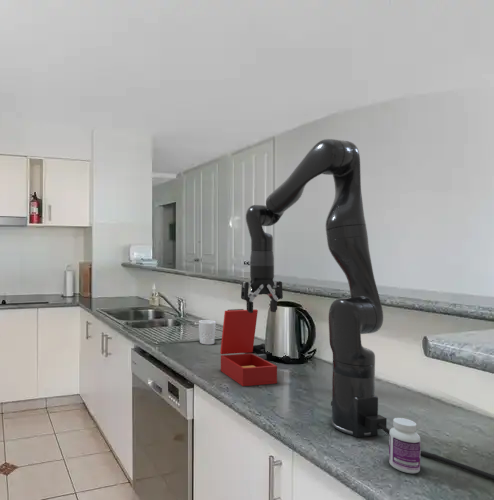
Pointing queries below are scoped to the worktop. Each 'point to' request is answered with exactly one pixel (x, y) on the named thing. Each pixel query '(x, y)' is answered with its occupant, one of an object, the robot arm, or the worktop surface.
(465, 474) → the worktop surface
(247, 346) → the box lid
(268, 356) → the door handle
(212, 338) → the white cup
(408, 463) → the pill bottle
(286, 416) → the worktop surface
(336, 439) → the worktop surface
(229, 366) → the red open box
